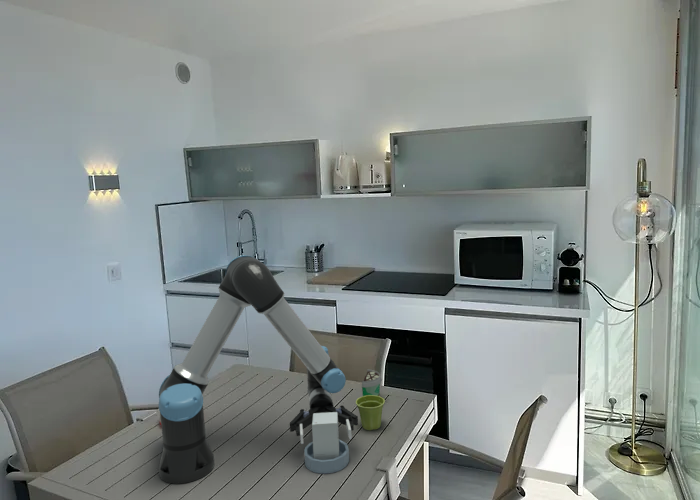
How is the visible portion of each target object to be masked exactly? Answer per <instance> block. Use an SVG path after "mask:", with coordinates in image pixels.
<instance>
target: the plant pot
mask: <svg viewBox="0 0 700 500" xmlns="http://www.w3.org/2000/svg"><path fill="white" fill-rule="evenodd" d="M385 401H386V400H385V398H383V397H381V396H380V395H379V396H375V395H367V396H363V395H362V396H360V397H357V398H356V400H355V405H356V406H357V409H358V413H359V417H360V423H361V426H362V428H363V429H364V430H366V431H372V430H378V429H379V428H380V427H381V424H382V414H383V408H384V405H385V403H386V402H385Z"/></svg>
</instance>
